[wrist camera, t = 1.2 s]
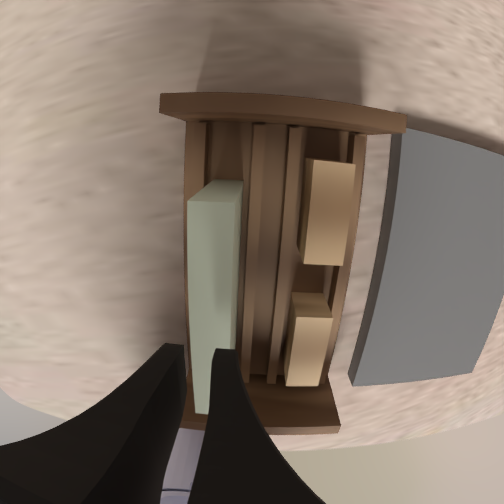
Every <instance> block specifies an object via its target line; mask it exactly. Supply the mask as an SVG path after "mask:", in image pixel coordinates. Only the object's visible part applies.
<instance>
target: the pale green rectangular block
mask: <svg viewBox="0 0 504 504" xmlns="http://www.w3.org/2000/svg"><path fill="white" fill-rule="evenodd" d="M243 183H244V180H227V179H214V180H213V181H211V182H210V183H209V184H207V185H206V186H205V187H204V188H203V189H201V190H200V191H199V192H198V193H196V194H195V195H194V196H193V197H191V198H190V199H189V200H188V201H187V265H188V303H189V327H190V346H191V362H192V376H193V390H194V402H195V413H200V414H208V411H209V398H210V380H211V364H212V358H213V355H214V352H215V349H216V348H222V349H235V346H236V336H237V311H238V287H239V264H240V243H241V222H242V202H243Z"/></svg>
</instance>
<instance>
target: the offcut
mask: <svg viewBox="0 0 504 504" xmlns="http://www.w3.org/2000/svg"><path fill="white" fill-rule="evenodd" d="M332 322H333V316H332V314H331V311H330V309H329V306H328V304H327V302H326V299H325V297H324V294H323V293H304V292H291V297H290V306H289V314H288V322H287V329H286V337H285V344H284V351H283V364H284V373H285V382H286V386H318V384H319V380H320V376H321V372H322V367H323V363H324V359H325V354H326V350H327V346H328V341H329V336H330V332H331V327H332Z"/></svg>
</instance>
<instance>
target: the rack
mask: <svg viewBox="0 0 504 504" xmlns="http://www.w3.org/2000/svg"><path fill="white" fill-rule="evenodd" d="M159 113H162V114H165V115H168V116H172V117H175V118H178V119H181V120H184V121H186V137H185V165H184V278H185V306H186V327H187V344H188V360H189V372H188V375H187V379H186V382H187V395H186V401H185V407H184V412H183V417H182V420H181V423H180V427H179V428H185V429H193V430H201V431H205V428H206V423H207V419H208V414H200V413H195V402H194V390H193V376H192V362H191V346H190V327H189V303H188V265H187V201H188V200H189V199H190V198H191V197H193V196H194V195H195V194H196V193H198V192H199V191H200V190H201V189H203V188H204V187H205V186H206V185H207V184H209V183H210V182H211V181H213V180H214V179H227V180H244V183H243V202H242V222H241V243H240V264H239V287H238V311H237V336H236V346H235V350H236V351H237V352H238V359H239V366H240V370H241V374H242V378H243V381H244V384H245V387H246V389H247V392H248V395H249V397H250V400H251V402H252V404H253V407H254V409H255V411H256V413H257V415H258V417H259V419H260V421H261V423H262V425H263V426H264V428H265V430H266V432H267V433H268V435H311V434H332V433H338V432H339V429H340V427H341V424H340V420H339V416H338V412H337V408H336V405H335V401H334V397H333V393H332V389H331V386H330V382H329V378H328V372H329V368H330V364H331V360H332V356H333V352H334V347H335V343H336V339H337V334H338V330H339V325H340V321H341V316H342V311H343V306H344V301H345V296H346V291H347V286H348V280H349V275H350V269H351V263H352V257H353V251H354V245H355V238H356V232H357V225H358V217H359V210H360V202H361V194H362V185H363V175H364V165H365V154H366V142H367V135H375V134H398V133H406V123H407V115H405V114H400V113H396V112H391V111H387V110H382V109H377V108H372V107H366V106H361V105H355V104H349V103H342V102H336V101H329V100H321V99H313V98H304V97H295V96H284V95H271V94H255V93H228V92H188V93H162V94H160V108H159ZM304 157H306V158H316V159H326V160H335V161H342V162H346V163H351V164H355V165H356V167H355V177H354V186H353V195H352V204H351V212H350V220H349V227H348V235H347V242H346V248H345V255H344V261H343V266H335V265H316V264H303V261H302V258H301V256H300V253H299V250H298V248H297V245H296V244H297V234H298V224H299V213H300V202H301V191H302V179H303V166H304ZM291 292H304V293H323V294H324V297H325V299H326V302H327V304H328V306H329V309H330V311H331V314H332V316H333V322H332V327H331V332H330V336H329V341H328V346H327V350H326V354H325V359H324V363H323V367H322V372H321V376H320V380H319V384H318V386H286V382H285V373H284V364H283V351H284V344H285V337H286V329H287V322H288V314H289V306H290V297H291Z"/></svg>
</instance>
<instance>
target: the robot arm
mask: <svg viewBox="0 0 504 504" xmlns="http://www.w3.org/2000/svg"><path fill="white" fill-rule="evenodd" d="M186 395H187V382H186V371H185V358H184V345H178V344H169V343H165V344H164V345H162V346H161V347H160V348H159V349H158V350H157V351H156V352H155V353H154V354H153V355H152V356H151V357H150V358H149V359H148V360H147V361H146V362H145V363H144V364H143V365H142V366H141V367H140V368H139V369H138V370H137V371H136V372H135V373H133V374H132V375H131V376H130V377H129V378H128V379H127V380H126V381H125V382H123V383H122V384H121V385H120V386H119V387H117V388H116V389H115V390H114V391H112V392H111V393H110V394H109V395H107V396H106V397H105V398H104V399H102V400H101V401H99V402H98V403H97V404H95V405H94V406H92V407H91V408H89V409H88V410H86V411H84V412H83V413H81V414H80V415H78V416H76V417H74V418H72V419H70V420H68V421H66V422H64V423H63V424H61V425H59V426H57V427H55V428H53V429H50V430H48V431H45V432H43V433H41V434H38V435H36V436H33V437H30V438H27V439H24V440H21V441H18V442H14V443H10V444H6V445H2V446H0V504H326V503H325V502H324V501H322V500H321V499H320V498H319V497H318V496H317V495H316V494H315V493H314V492H313V491H312V490H311V489H310V488H309V487H308V486H307V485H306V484H305V483H304V481H302V479H301V478H300V477H299V476H298V475H297V473H296V472H295V471H294V470H293V468H292V467H291V466H290V465H289V464H288V462H287V461H286V460H285V459H284V457H283V456H282V455H281V453H280V452H279V450H278V449H277V447H276V446H275V444H274V443H273V441H272V440H271V438H270V437H269V435H268V433H267V432H266V430H265V428H264V426H263V425H262V423H261V421H260V419H259V417H258V415H257V413H256V411H255V409H254V407H253V404H252V402H251V400H250V397H249V395H248V392H247V389H246V387H245V384H244V381H243V378H242V374H241V370H240V366H239V359H238V352H237V351H236V350H235V349H222V348H216V349H215V352H214V355H213V358H212V364H211V380H210V398H209V411H208V419H207V423H206V428H205V431H201V430H193V429H185V428H179V427H180V423H181V420H182V417H183V412H184V407H185V401H186Z"/></svg>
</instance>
